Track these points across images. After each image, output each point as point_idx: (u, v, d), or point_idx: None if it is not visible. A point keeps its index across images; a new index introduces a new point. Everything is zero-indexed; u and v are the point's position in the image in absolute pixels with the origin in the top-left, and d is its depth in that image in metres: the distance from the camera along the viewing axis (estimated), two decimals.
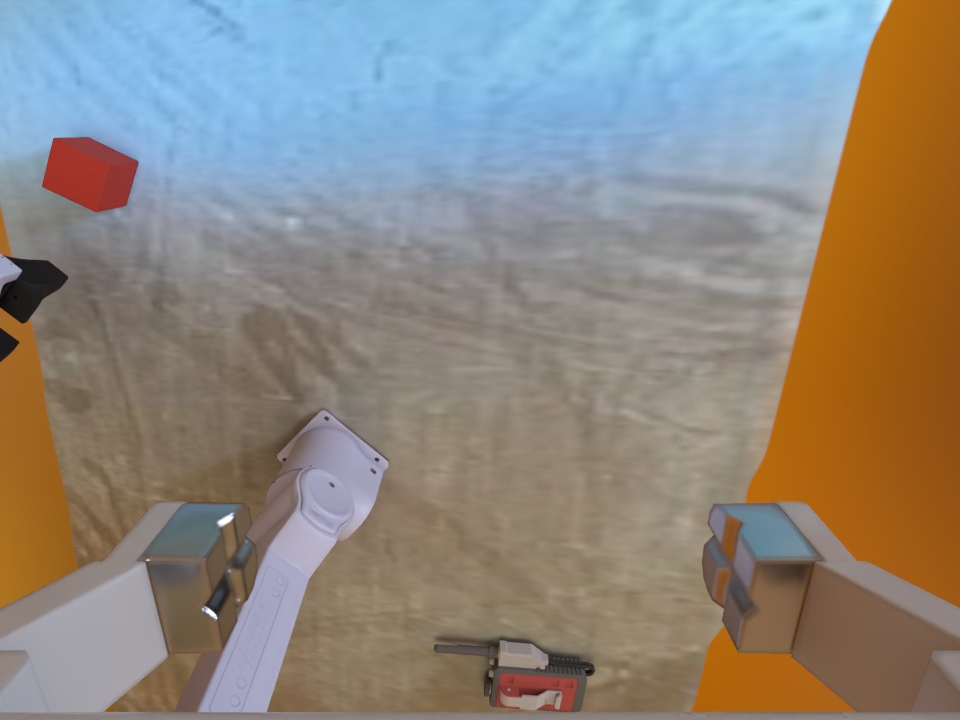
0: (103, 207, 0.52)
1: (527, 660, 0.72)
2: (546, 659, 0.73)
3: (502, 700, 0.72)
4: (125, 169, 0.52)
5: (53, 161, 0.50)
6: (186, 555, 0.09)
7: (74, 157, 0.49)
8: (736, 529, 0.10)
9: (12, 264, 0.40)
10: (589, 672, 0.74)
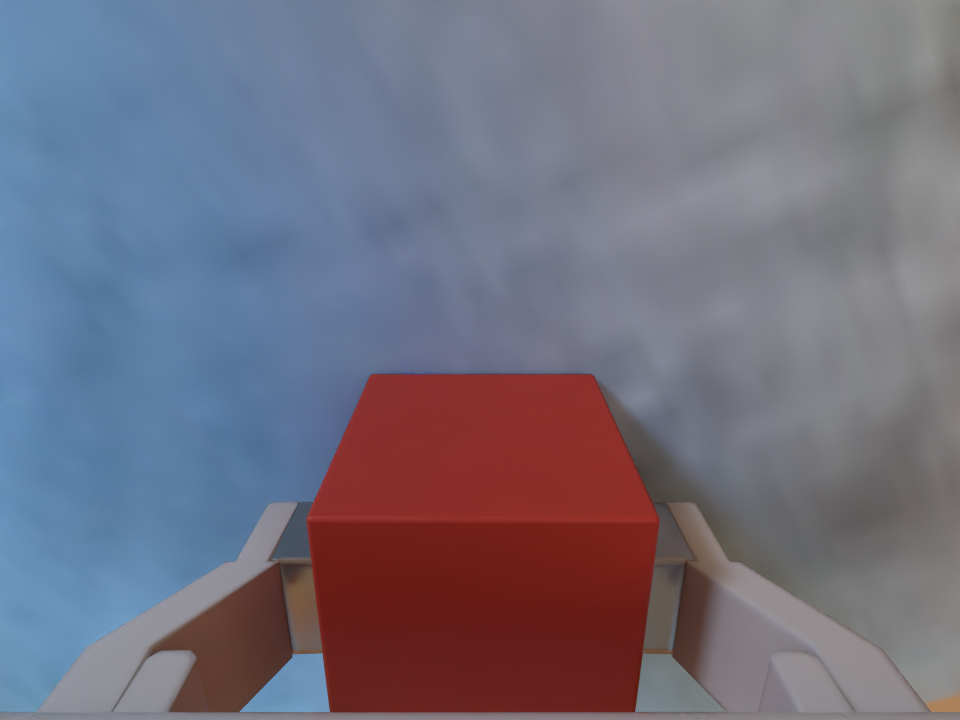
0: (618, 477, 0.08)
1: None
2: None
3: None
4: (387, 416, 0.10)
5: None
6: None
7: (379, 681, 0.08)
8: None
9: None
10: None
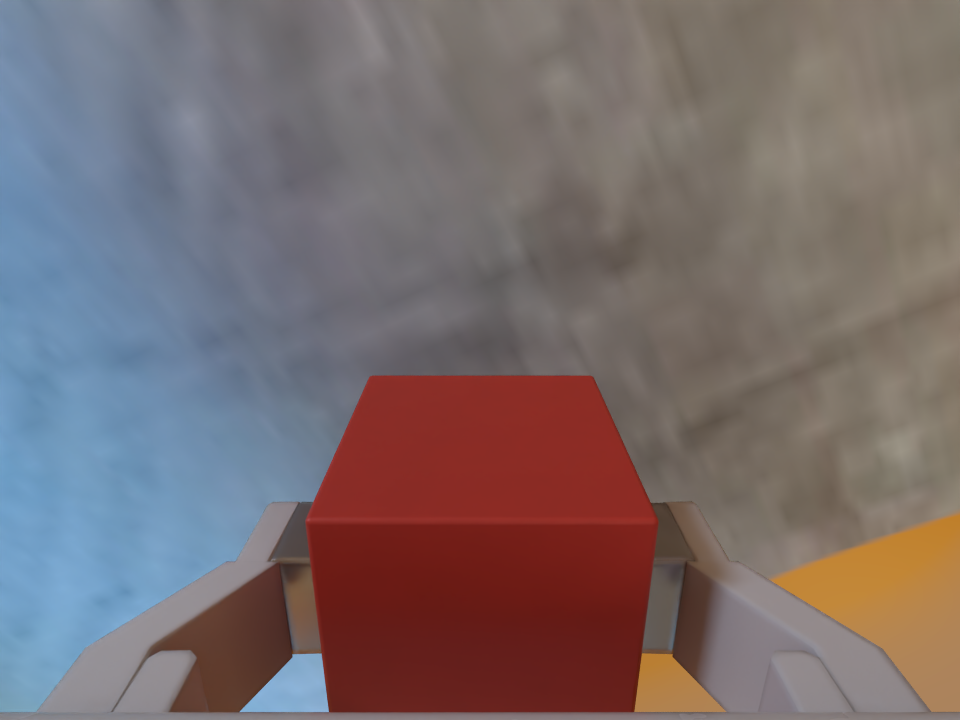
0: (617, 478, 0.08)
1: None
2: None
3: None
4: (386, 418, 0.10)
5: None
6: None
7: (377, 683, 0.08)
8: None
9: None
10: None
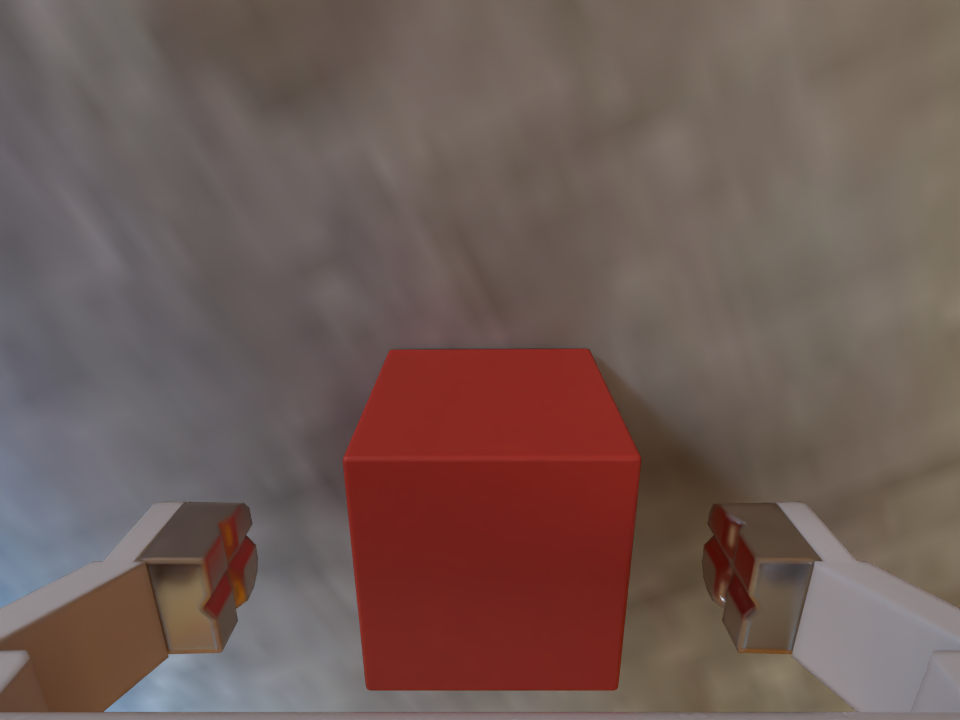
0: (607, 427, 0.09)
1: None
2: None
3: None
4: (406, 382, 0.11)
5: (471, 673, 0.10)
6: (186, 555, 0.09)
7: (402, 604, 0.10)
8: (736, 529, 0.10)
9: None
10: None
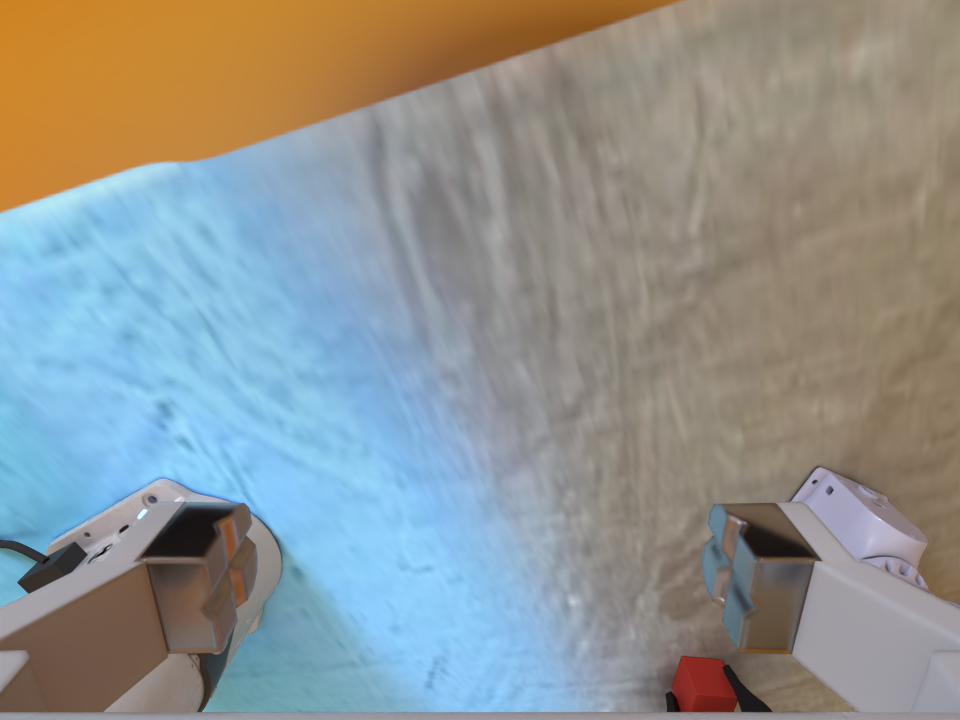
0: (732, 689, 0.60)
1: None
2: None
3: None
4: (693, 671, 0.62)
5: None
6: (186, 555, 0.09)
7: None
8: (736, 529, 0.10)
9: None
10: None
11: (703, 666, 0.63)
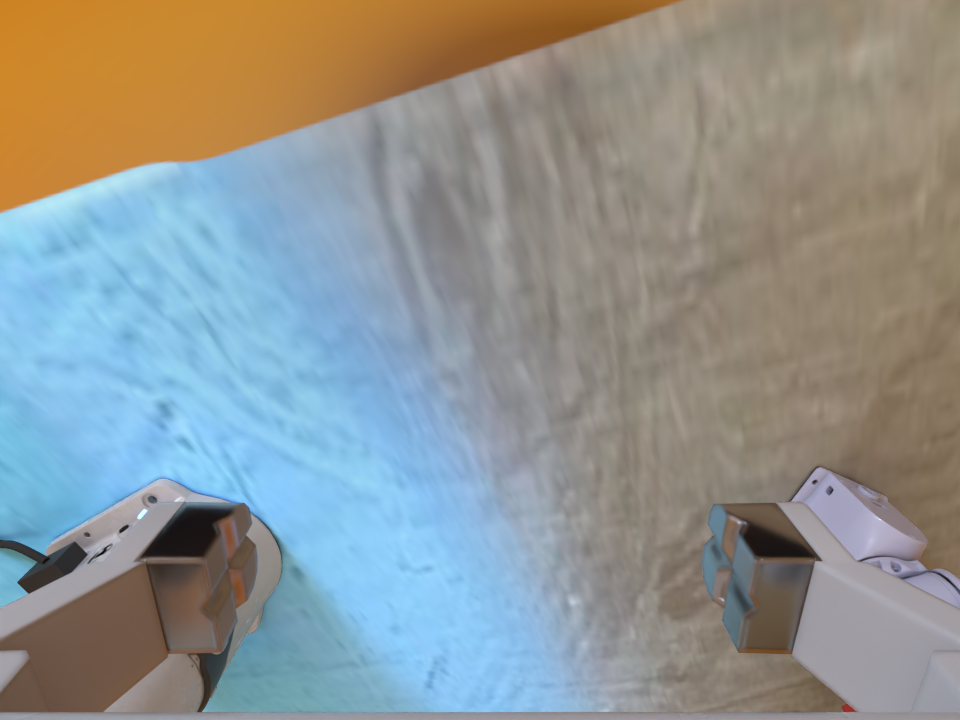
0: None
1: None
2: None
3: None
4: None
5: None
6: (186, 555, 0.09)
7: None
8: (736, 529, 0.10)
9: None
10: None
11: None
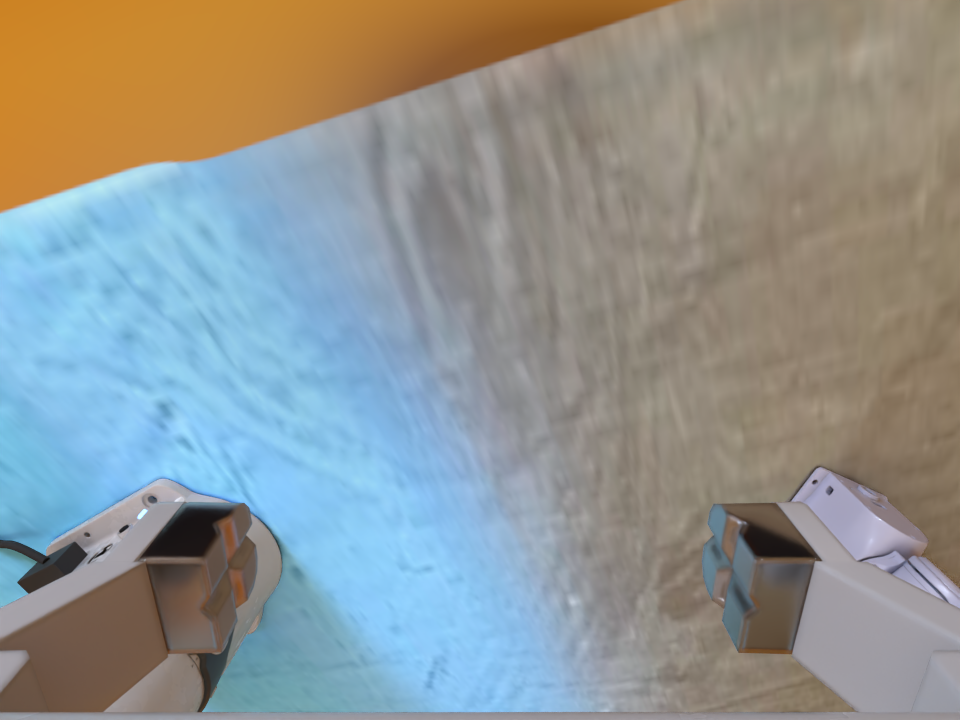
0: None
1: None
2: None
3: None
4: None
5: None
6: (186, 555, 0.09)
7: None
8: (736, 529, 0.10)
9: None
10: None
11: None
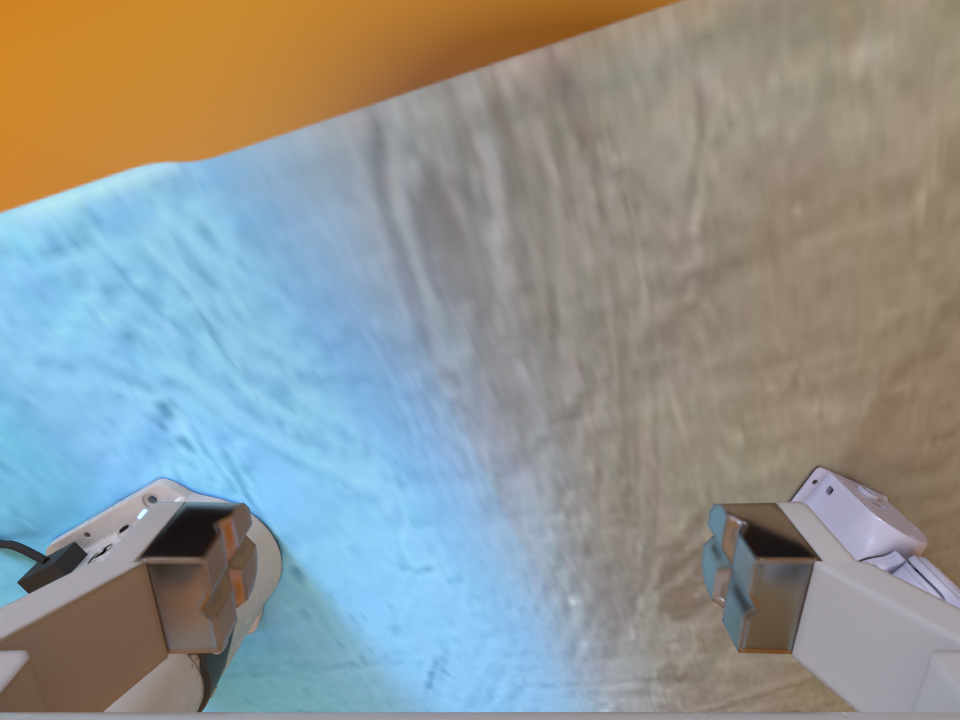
0: None
1: None
2: None
3: None
4: None
5: None
6: (186, 555, 0.09)
7: None
8: (736, 529, 0.10)
9: None
10: None
11: None
